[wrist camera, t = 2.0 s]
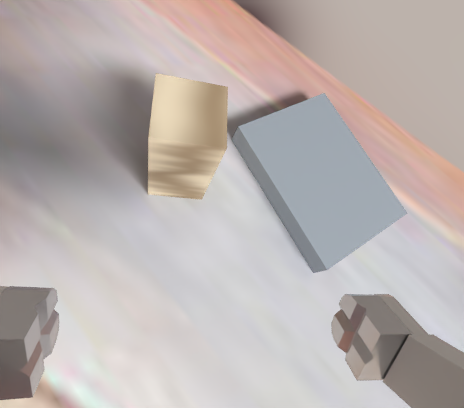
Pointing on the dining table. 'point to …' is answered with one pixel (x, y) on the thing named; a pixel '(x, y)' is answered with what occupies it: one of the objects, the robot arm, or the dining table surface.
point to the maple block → (185, 136)
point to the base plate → (318, 180)
